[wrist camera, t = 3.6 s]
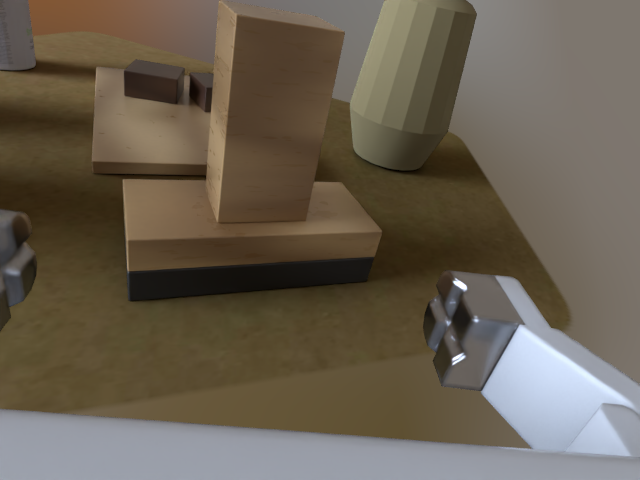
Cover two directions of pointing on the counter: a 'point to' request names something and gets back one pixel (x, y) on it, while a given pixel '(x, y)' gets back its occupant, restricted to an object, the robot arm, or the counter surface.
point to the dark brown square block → (201, 89)
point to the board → (146, 131)
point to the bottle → (16, 36)
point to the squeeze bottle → (410, 80)
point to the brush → (254, 175)
